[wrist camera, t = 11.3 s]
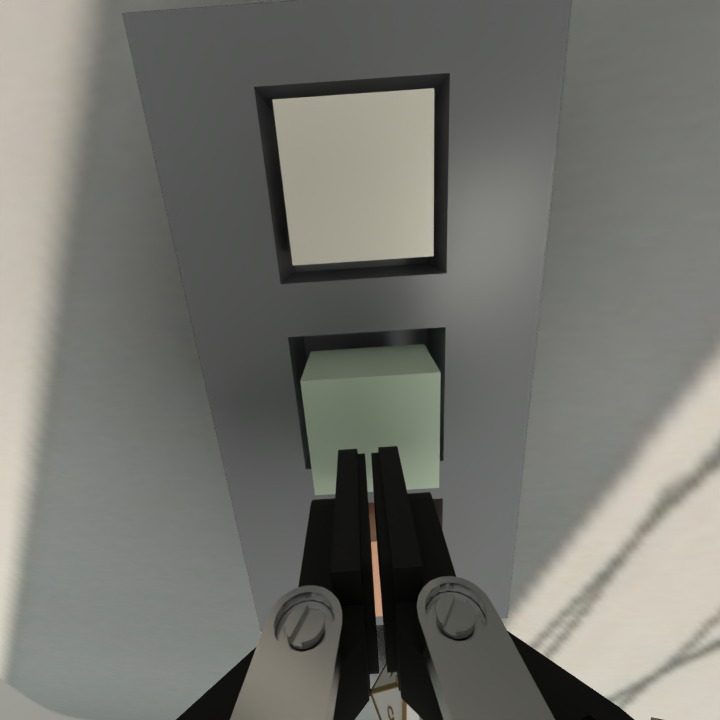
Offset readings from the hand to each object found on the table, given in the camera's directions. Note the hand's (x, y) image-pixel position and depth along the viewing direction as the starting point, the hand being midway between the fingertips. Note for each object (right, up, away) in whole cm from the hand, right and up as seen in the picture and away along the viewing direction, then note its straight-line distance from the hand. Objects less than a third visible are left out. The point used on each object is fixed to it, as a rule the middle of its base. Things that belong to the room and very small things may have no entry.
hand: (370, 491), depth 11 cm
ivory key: (0, +10, +3) cm, 11 cm away
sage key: (0, +2, +5) cm, 5 cm away
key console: (0, +3, +8) cm, 9 cm away
